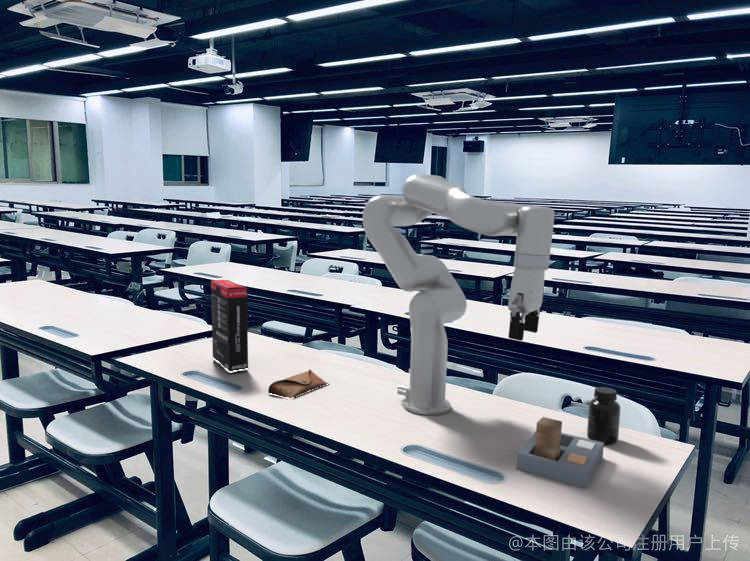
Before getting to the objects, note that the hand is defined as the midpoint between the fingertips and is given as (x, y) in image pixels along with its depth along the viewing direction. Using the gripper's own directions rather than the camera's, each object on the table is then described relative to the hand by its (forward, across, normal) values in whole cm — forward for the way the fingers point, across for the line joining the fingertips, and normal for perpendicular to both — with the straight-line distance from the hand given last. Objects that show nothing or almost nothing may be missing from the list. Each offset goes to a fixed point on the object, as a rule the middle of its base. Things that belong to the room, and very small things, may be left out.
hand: (523, 335), depth 127 cm
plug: (+24, +12, +12) cm, 29 cm away
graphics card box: (+29, +6, -92) cm, 97 cm away
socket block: (+24, +8, +14) cm, 28 cm away
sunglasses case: (+28, +7, -60) cm, 67 cm away
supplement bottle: (+24, -11, +18) cm, 32 cm away
